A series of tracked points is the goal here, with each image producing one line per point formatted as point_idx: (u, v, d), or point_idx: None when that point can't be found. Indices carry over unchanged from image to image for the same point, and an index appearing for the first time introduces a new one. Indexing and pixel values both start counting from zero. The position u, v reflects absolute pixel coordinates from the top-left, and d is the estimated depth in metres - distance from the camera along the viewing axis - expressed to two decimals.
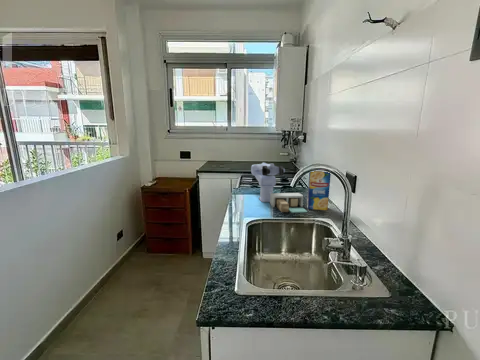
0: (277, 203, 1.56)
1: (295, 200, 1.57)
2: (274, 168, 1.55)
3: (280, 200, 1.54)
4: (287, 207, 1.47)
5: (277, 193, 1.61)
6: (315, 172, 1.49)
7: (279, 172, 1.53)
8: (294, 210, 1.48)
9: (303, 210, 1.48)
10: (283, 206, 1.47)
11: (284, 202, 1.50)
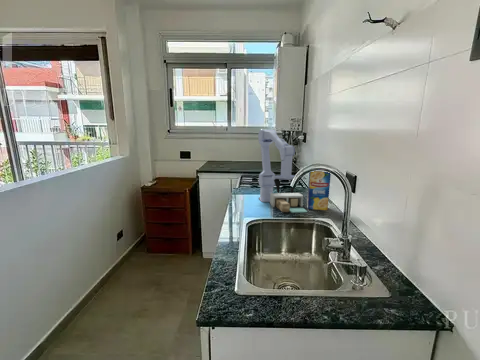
0: (276, 203, 1.55)
1: (295, 200, 1.57)
2: None
3: (279, 200, 1.54)
4: (288, 207, 1.47)
5: (277, 193, 1.61)
6: (315, 172, 1.49)
7: (291, 180, 1.48)
8: (294, 210, 1.48)
9: (303, 210, 1.48)
10: (284, 206, 1.47)
11: (284, 202, 1.50)
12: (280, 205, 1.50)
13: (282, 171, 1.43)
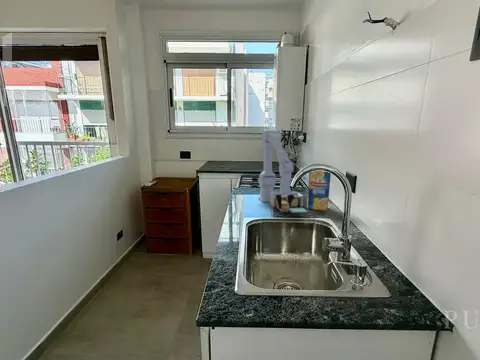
0: (276, 203, 1.55)
1: (295, 200, 1.57)
2: None
3: None
4: (287, 207, 1.47)
5: None
6: (315, 172, 1.49)
7: (288, 196, 1.49)
8: (294, 210, 1.48)
9: (303, 210, 1.48)
10: (283, 206, 1.47)
11: (284, 202, 1.50)
12: None
13: (281, 187, 1.45)
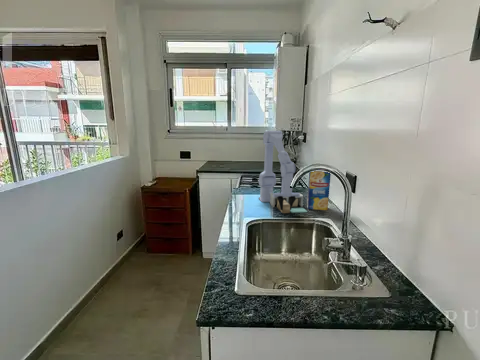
0: (278, 204, 1.54)
1: (295, 200, 1.57)
2: None
3: None
4: (288, 208, 1.45)
5: None
6: (315, 172, 1.49)
7: (289, 198, 1.46)
8: (294, 210, 1.48)
9: (303, 210, 1.48)
10: (284, 207, 1.45)
11: (285, 203, 1.48)
12: None
13: (283, 189, 1.42)
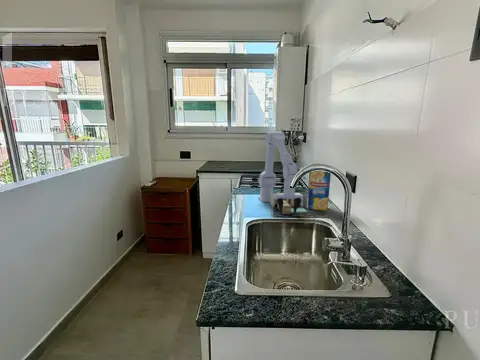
0: (278, 205, 1.52)
1: None
2: None
3: None
4: (289, 209, 1.44)
5: (277, 193, 1.61)
6: (315, 172, 1.49)
7: (294, 200, 1.43)
8: None
9: (303, 210, 1.48)
10: (285, 208, 1.43)
11: (286, 204, 1.47)
12: None
13: (285, 191, 1.38)
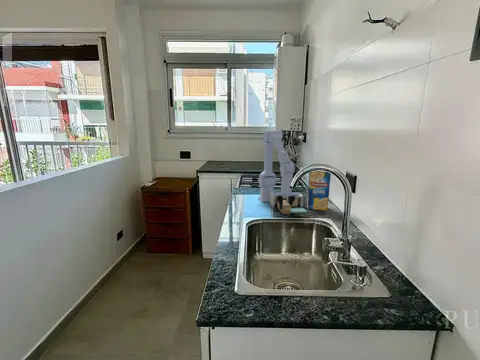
0: (278, 205, 1.52)
1: (295, 200, 1.57)
2: None
3: None
4: (289, 209, 1.44)
5: None
6: (315, 172, 1.49)
7: (289, 197, 1.47)
8: (294, 210, 1.48)
9: (303, 210, 1.48)
10: (285, 208, 1.43)
11: (286, 203, 1.47)
12: None
13: (282, 188, 1.43)
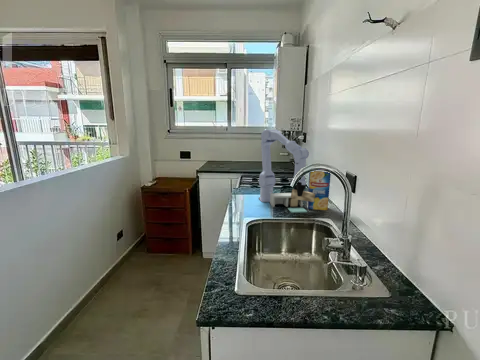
0: None
1: (295, 200, 1.57)
2: None
3: (305, 191, 1.49)
4: (293, 193, 1.46)
5: (277, 193, 1.61)
6: (315, 172, 1.49)
7: None
8: (294, 210, 1.48)
9: (303, 210, 1.48)
10: (292, 191, 1.49)
11: None
12: None
13: None
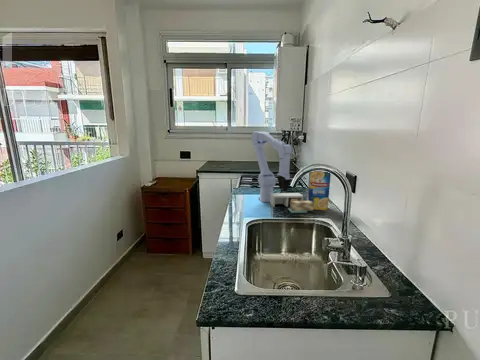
0: None
1: (295, 200, 1.57)
2: None
3: (303, 201, 1.50)
4: (292, 205, 1.48)
5: (277, 193, 1.61)
6: (315, 172, 1.49)
7: None
8: None
9: None
10: (290, 203, 1.50)
11: (298, 202, 1.48)
12: None
13: None
